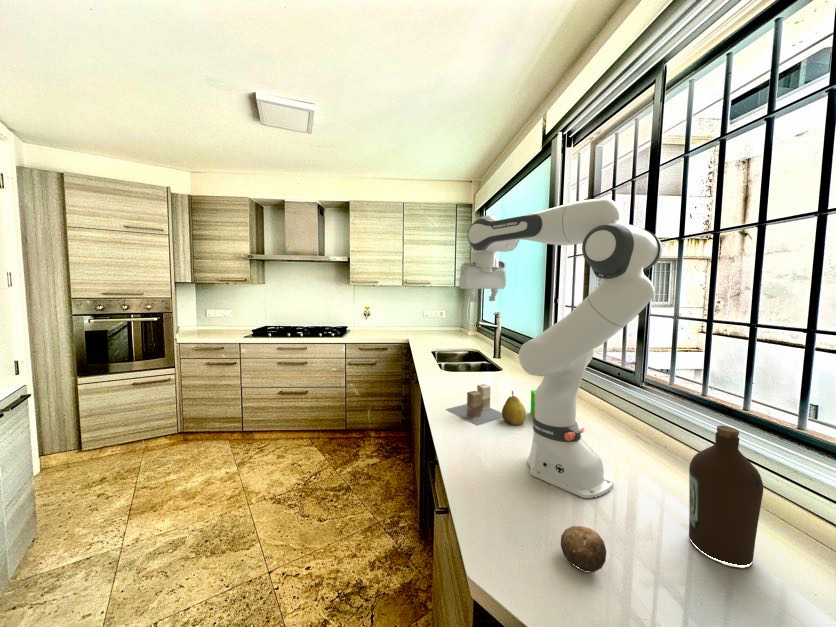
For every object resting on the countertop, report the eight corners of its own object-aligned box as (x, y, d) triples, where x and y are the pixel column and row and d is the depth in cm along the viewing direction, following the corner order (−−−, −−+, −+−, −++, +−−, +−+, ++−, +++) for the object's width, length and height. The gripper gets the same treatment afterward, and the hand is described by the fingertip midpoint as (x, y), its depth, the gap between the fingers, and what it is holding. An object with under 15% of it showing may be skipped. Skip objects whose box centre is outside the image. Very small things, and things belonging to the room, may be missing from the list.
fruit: (521, 429, 122) (522, 398, 121) (498, 423, 127) (498, 393, 126) (529, 421, 128) (529, 392, 128) (506, 416, 134) (507, 388, 133)
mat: (509, 416, 134) (509, 415, 133) (476, 426, 124) (476, 425, 124) (476, 402, 150) (476, 401, 150) (444, 410, 141) (444, 409, 141)
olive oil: (753, 547, 66) (763, 427, 64) (760, 583, 58) (772, 447, 56) (685, 522, 73) (692, 414, 71) (683, 551, 65) (691, 429, 63)
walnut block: (481, 417, 132) (481, 393, 131) (473, 419, 130) (473, 394, 129) (474, 414, 135) (474, 390, 134) (466, 416, 133) (467, 392, 132)
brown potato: (597, 528, 67) (589, 512, 64) (620, 574, 59) (611, 558, 57) (560, 541, 68) (550, 526, 66) (578, 586, 61) (568, 571, 58)
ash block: (490, 408, 141) (490, 386, 141) (483, 410, 139) (483, 387, 139) (483, 406, 145) (483, 384, 144) (476, 407, 143) (477, 385, 142)
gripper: (467, 261, 109) (466, 302, 110) (509, 263, 120) (508, 301, 121) (455, 262, 115) (455, 301, 116) (496, 265, 126) (495, 300, 127)
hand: (482, 301), depth 119 cm, fingers open, 8 cm apart
